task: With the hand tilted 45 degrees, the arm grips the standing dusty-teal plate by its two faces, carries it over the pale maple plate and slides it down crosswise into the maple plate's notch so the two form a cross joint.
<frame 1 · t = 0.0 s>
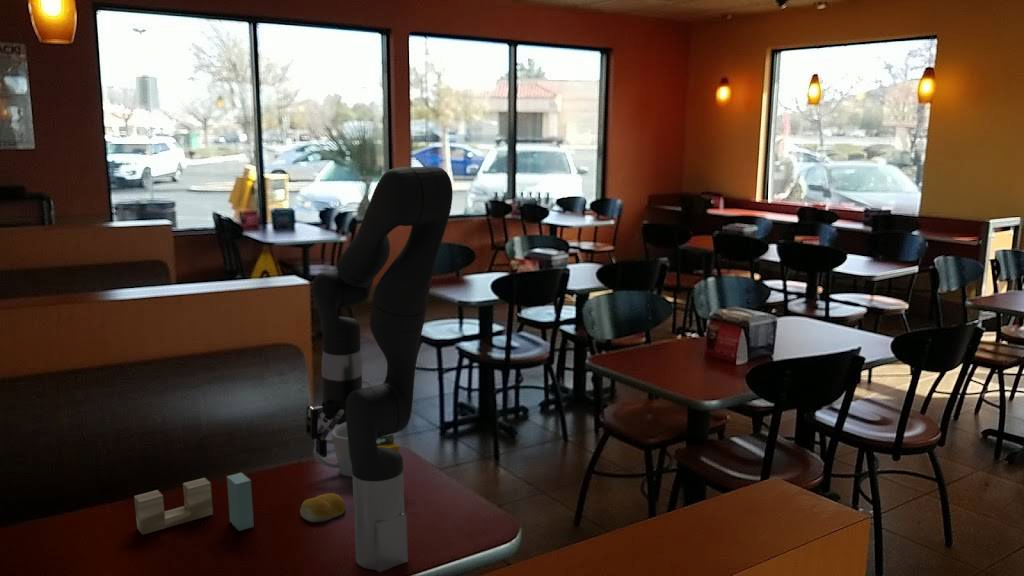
hand: (342, 450, 159), 17 cm above the table, tool pointing down, fingers open, 8 cm apart
crayon box: (382, 488, 183), on the table
bread roll: (322, 515, 170), on the table
mug: (346, 472, 191), on the table
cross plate: (241, 524, 166), on the table
slot plate: (175, 521, 167), on the table
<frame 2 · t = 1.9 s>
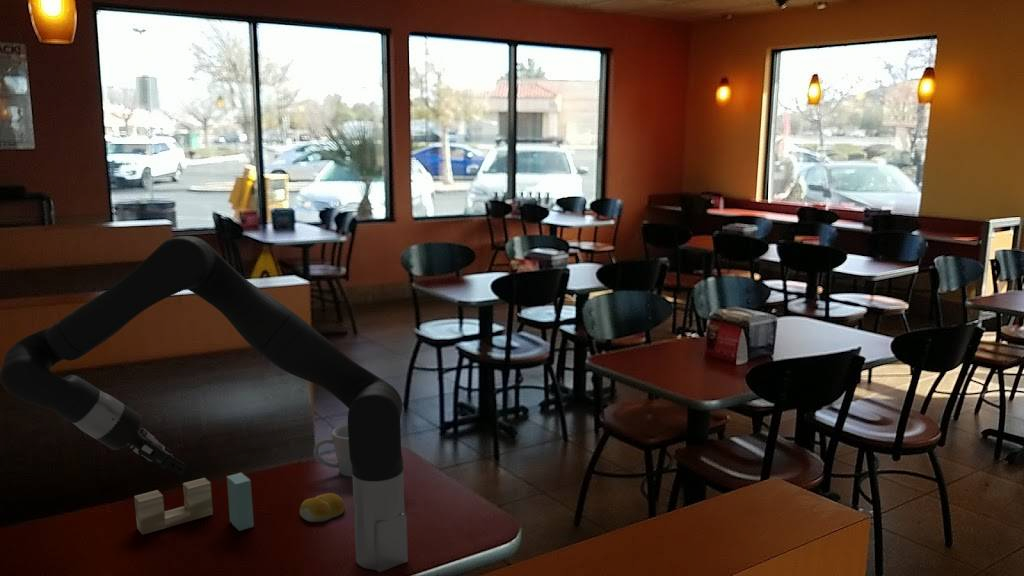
hand: (177, 464, 156), 16 cm above the table, tool tilted 45°, fingers open, 8 cm apart
nothing on the table moved.
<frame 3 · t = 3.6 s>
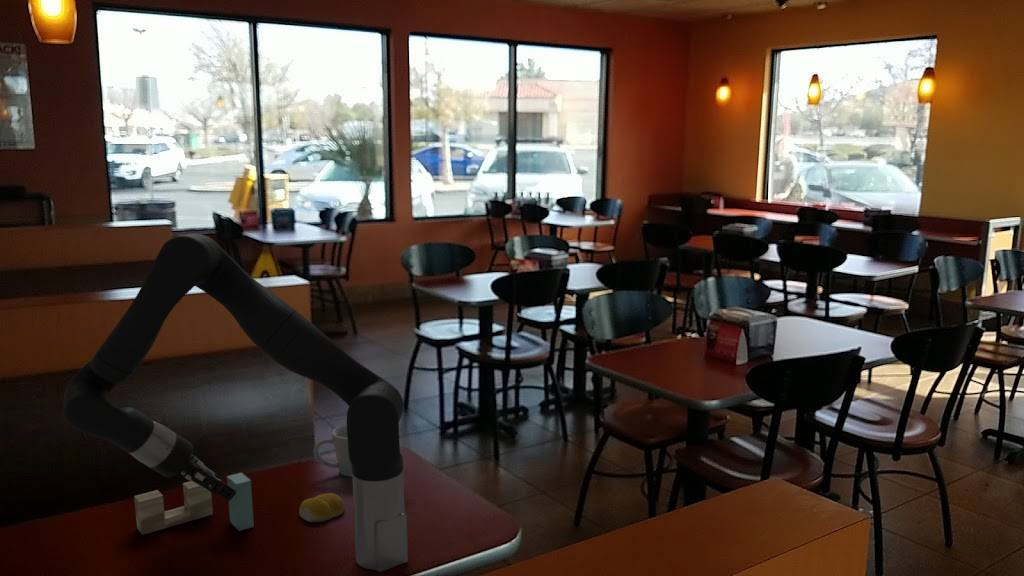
hand: (224, 488, 162), 9 cm above the table, tool tilted 45°, fingers open, 8 cm apart
nothing on the table moved.
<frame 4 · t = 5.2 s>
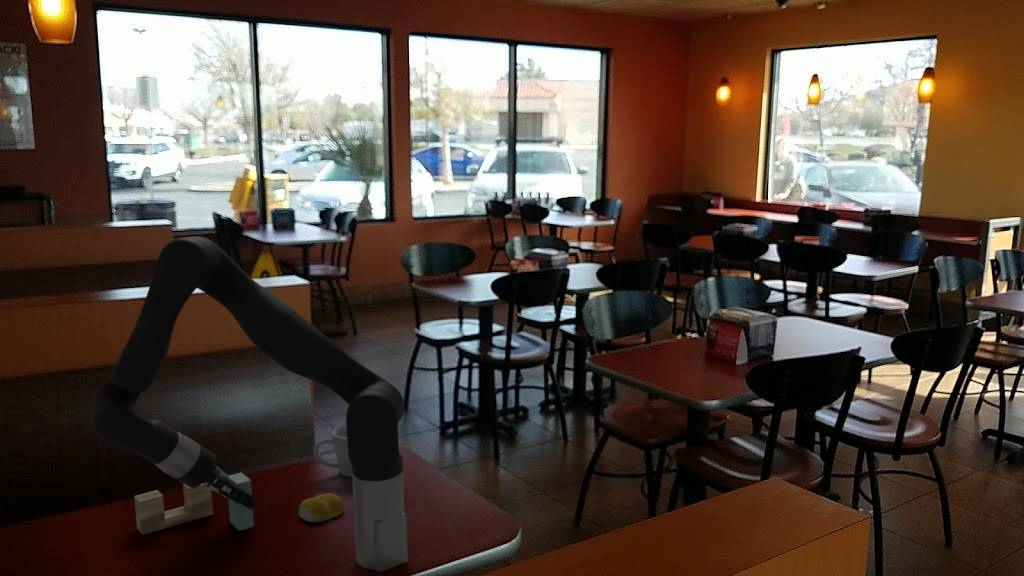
hand: (249, 500, 166), 5 cm above the table, tool tilted 45°, fingers closed on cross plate, 5 cm apart
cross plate: (241, 524, 166), on the table, touching gripper
everything else where it was.
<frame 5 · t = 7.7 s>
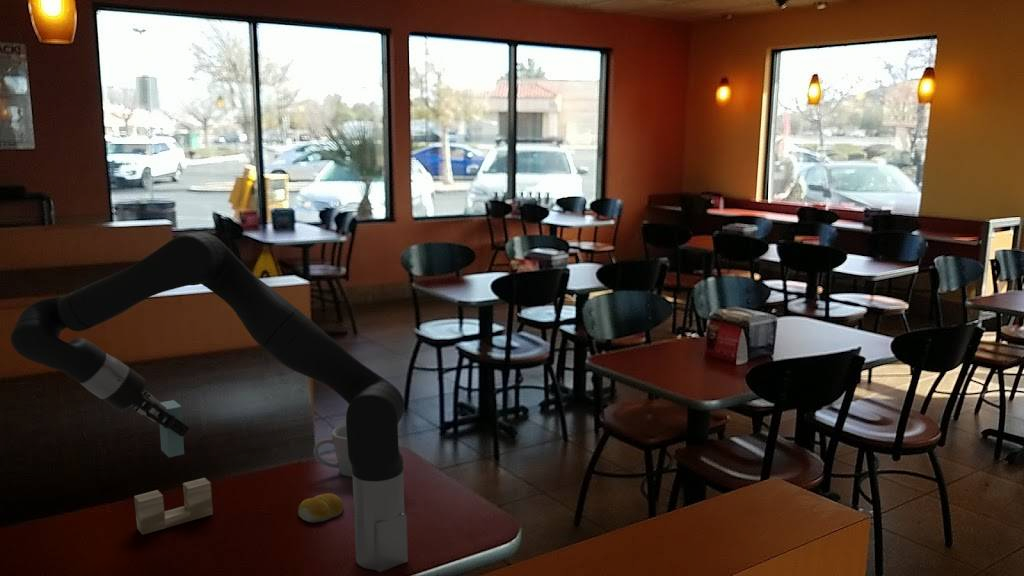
hand: (180, 427, 164), 20 cm above the table, tool tilted 45°, fingers closed on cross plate, 5 cm apart
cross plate: (172, 452, 164), point 15 cm above the table, touching gripper
everything else where it was.
when the fingers open (8 cm above the table, at t = 10.5 s): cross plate stays where it is, resting on slot plate.
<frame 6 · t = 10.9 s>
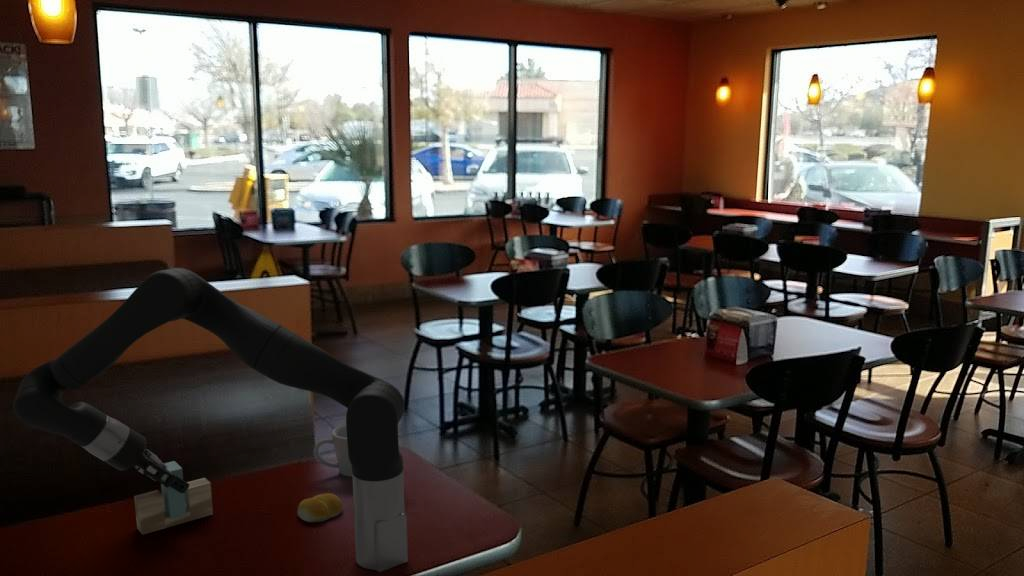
hand: (179, 482, 166), 8 cm above the table, tool tilted 45°, fingers open, 8 cm apart
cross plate: (174, 512, 167), point 2 cm above the table, touching slot plate
everything else where it was.
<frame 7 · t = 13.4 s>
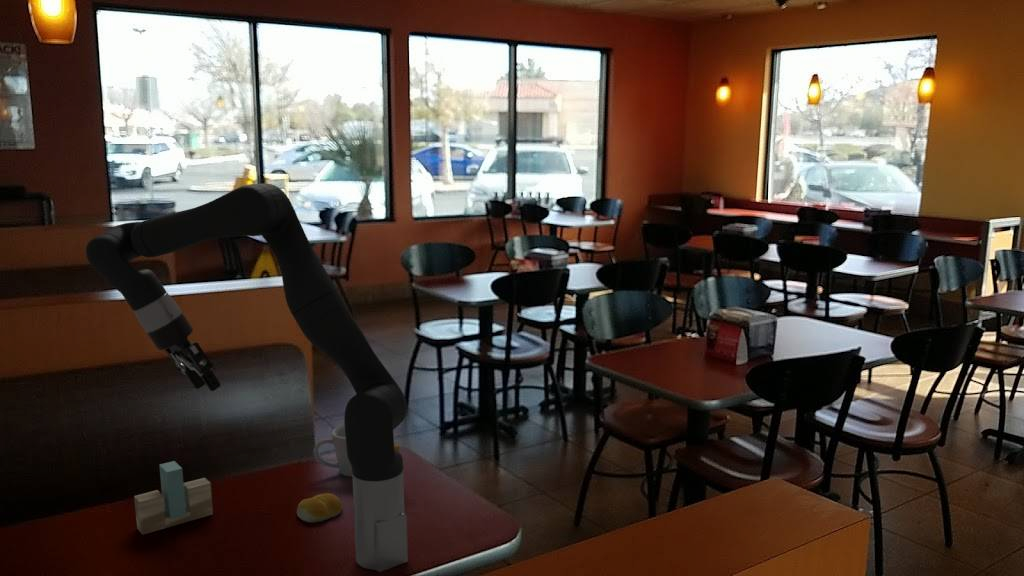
hand: (208, 387, 164), 28 cm above the table, tool tilted 25°, fingers open, 8 cm apart
nothing on the table moved.
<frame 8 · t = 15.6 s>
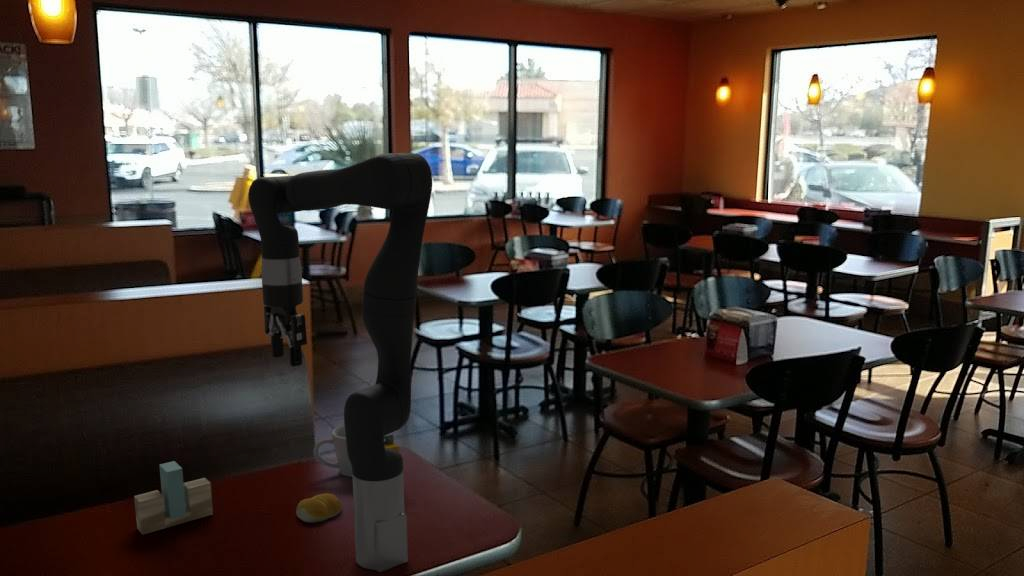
hand: (286, 361, 160), 34 cm above the table, tool pointing down, fingers open, 8 cm apart
nothing on the table moved.
at the end: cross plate 0.1 cm off-centre on the slot plate, point 2.0 cm above the slot plate's base; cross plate tilted 0°; the gripper is holding nothing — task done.
